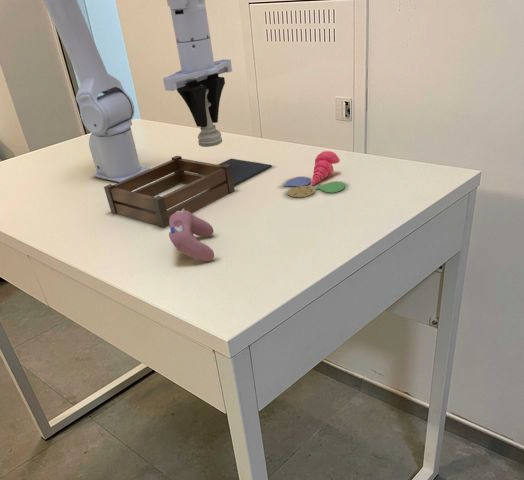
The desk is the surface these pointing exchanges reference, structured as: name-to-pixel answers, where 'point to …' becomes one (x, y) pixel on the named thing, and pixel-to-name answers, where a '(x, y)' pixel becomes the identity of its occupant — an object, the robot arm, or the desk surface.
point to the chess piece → (209, 130)
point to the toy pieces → (317, 177)
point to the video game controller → (190, 235)
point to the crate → (155, 208)
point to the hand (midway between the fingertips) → (207, 124)
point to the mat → (244, 169)
